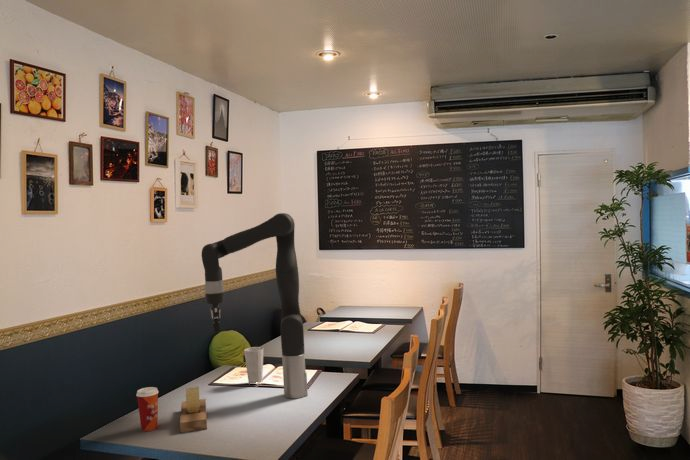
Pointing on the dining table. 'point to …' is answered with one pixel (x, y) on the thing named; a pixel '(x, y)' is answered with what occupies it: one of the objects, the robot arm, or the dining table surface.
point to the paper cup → (148, 408)
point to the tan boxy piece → (192, 400)
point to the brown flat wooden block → (193, 418)
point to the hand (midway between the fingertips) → (216, 330)
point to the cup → (254, 364)
